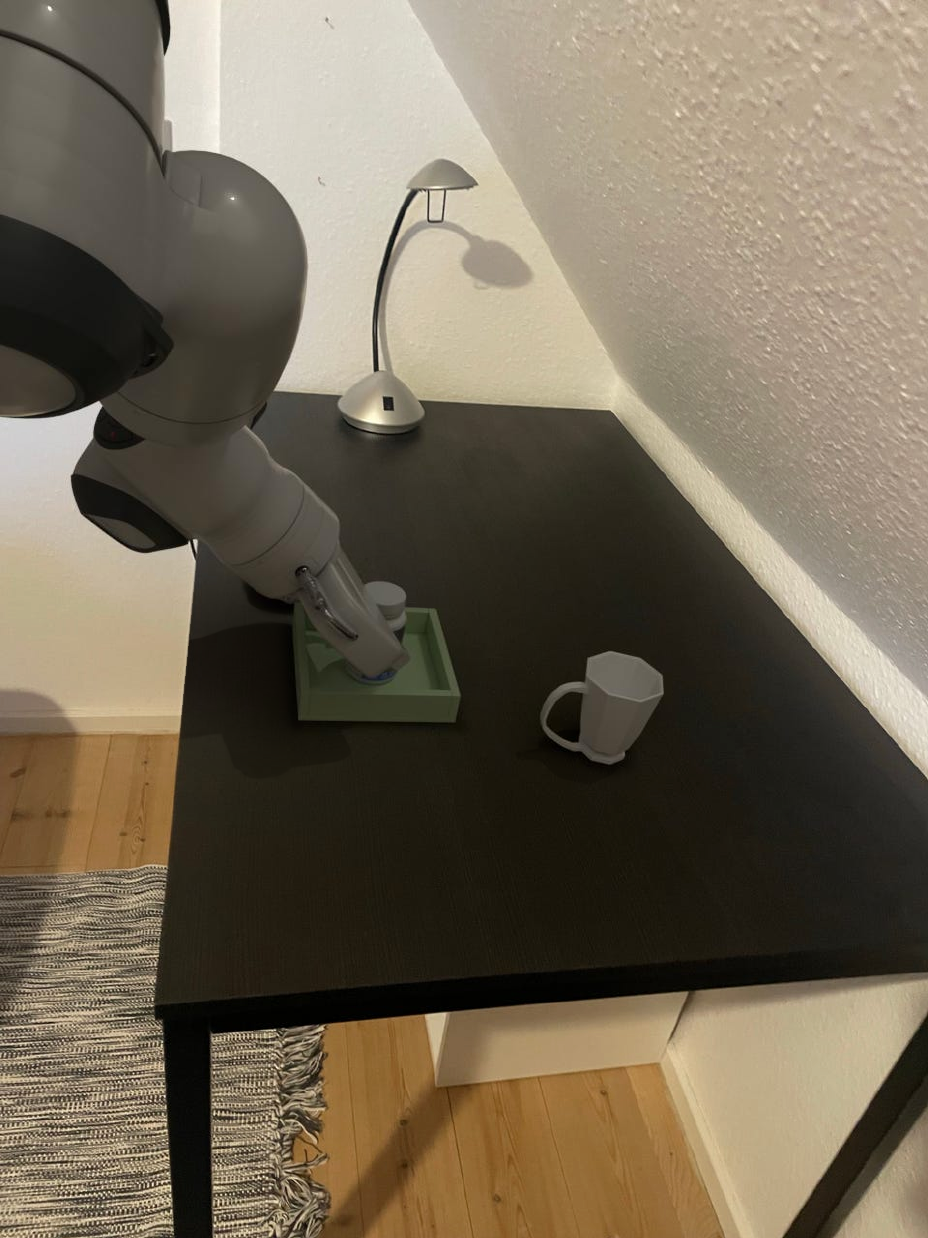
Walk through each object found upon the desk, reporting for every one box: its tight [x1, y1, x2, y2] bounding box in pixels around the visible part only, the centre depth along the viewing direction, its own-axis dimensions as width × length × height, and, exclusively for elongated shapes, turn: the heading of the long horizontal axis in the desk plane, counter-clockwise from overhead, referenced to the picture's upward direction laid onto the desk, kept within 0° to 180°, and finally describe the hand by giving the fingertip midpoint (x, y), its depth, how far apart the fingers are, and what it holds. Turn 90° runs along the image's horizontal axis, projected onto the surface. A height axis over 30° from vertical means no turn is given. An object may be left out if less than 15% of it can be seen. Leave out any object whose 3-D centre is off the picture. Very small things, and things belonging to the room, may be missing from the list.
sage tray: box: [291, 602, 462, 723], centre depth 86 cm, size 14×14×3 cm
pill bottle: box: [346, 580, 407, 684], centre depth 84 cm, size 5×5×8 cm
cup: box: [539, 650, 665, 766], centre depth 81 cm, size 7×10×8 cm
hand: (383, 629), depth 84 cm, fingers open, 8 cm apart
